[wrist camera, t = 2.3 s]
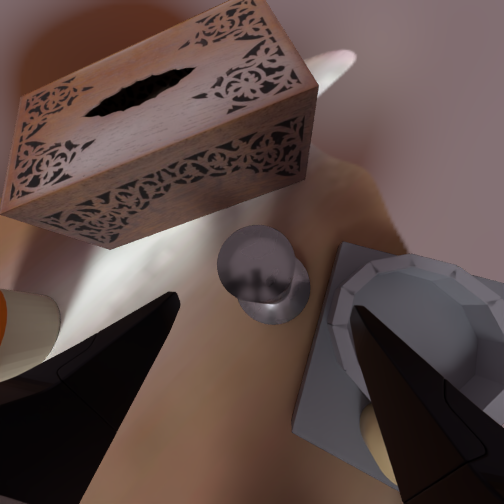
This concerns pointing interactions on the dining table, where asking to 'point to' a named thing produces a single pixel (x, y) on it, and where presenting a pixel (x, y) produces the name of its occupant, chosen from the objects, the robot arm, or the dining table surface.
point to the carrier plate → (411, 332)
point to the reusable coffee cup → (25, 331)
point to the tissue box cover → (164, 130)
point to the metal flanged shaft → (264, 274)
